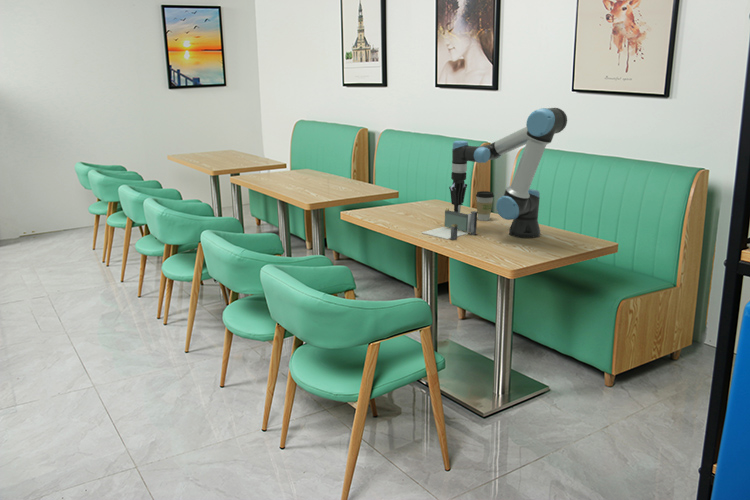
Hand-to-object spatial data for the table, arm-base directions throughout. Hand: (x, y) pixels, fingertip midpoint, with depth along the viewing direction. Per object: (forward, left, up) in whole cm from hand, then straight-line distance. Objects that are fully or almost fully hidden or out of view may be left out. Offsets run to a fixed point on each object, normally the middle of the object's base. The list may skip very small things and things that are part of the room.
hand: (456, 217), depth 320 cm
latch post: (-13, +18, -6) cm, 23 cm away
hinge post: (-14, +4, -6) cm, 15 cm away
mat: (-2, +12, -6) cm, 14 cm away
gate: (-4, +4, -5) cm, 7 cm away
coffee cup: (+3, -27, -6) cm, 28 cm away
